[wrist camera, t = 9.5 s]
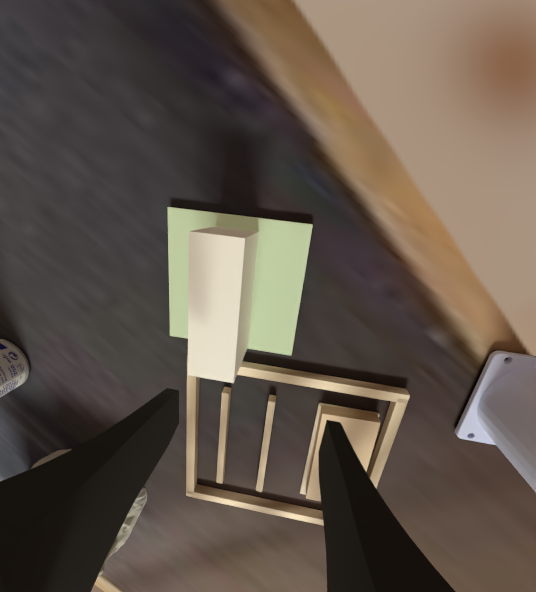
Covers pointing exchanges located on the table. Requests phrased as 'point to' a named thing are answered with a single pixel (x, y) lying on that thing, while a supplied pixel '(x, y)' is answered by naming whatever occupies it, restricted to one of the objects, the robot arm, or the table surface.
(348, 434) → the offcut upper
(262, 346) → the mat
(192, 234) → the tall cream block
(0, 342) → the energy drink
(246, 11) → the table surface
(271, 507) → the rack
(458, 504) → the table surface
